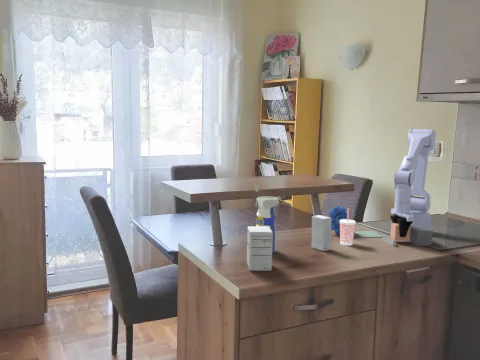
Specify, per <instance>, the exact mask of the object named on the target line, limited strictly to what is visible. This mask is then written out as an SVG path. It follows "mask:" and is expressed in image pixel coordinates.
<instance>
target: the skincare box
mask: <svg viewBox="0 0 480 360" xmlns="http://www.w3.org/2000/svg"><path fill="white" fill-rule="evenodd" d="M331 247H332V230H331V218H330V217H329V216H327V215H320V214H317V215H313V216H311V248H312V249H315V250H319V251H322V252H326V251H327V252H328V251H330V250H331Z"/></svg>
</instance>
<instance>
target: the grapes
mask: <svg viewBox="0 0 480 360" xmlns="http://www.w3.org/2000/svg"><path fill="white" fill-rule="evenodd" d="M328 214H329V216H328V217H330V218H331V231H334V233H335V234H337V235H340V223H339V222H340V221H339V220H342V219H347V209H346V208H345V207H343V206H341V207H340V206H339V205H335V206H334V207H333V209H329V211H328ZM350 217H351V216H350V214H349V217H348V219H349V220H350Z"/></svg>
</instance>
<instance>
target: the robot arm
mask: <svg viewBox="0 0 480 360" xmlns="http://www.w3.org/2000/svg"><path fill="white" fill-rule="evenodd" d="M436 134H437V133H436V130H435V129H433V128H432V129H428V128H427V129H424V128H422V129H421V128H410V129H409V130H408V134H407V141H408V145H409V147H408V152H407V155H405V156H404V157H403V159H402V161H401V164H400V167H399V169H398V170H396V171H395V173H394V175H393V176H394V177H393V183H394V189H395V190H394V191H395V193H394V207H393V208H392V207H391V209H390V213H391V215H390V216H389V218H390V220H391V221H392V222H391V223H398V224H399V233H400V237H406V235H407V232H408V229H409V227H410V225H411V224H420V225H422V226H424V227H426V228H428V229H430V230H432V229H431V228H432V216H431V214H430V213H429V211H430V207H431V195H430V193H429V192H428V191H427V190H426V189H425V186H426V185H425V184H426V176H427V171H428V170H427V168H428V161H429V155H430V152H431V151H432V150H434V148H435V146H436V137H437V135H436Z"/></svg>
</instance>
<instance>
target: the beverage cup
mask: <svg viewBox="0 0 480 360" xmlns="http://www.w3.org/2000/svg"><path fill="white" fill-rule="evenodd" d="M349 212H350V208H349V207H348V208H347V211H346V213H347V219H342V220H339V221H340V222H339V223H340V233H339V238H340V239H339V241H340V242H339V244H340V245H342V246H352V245H353V244H354V243H353V241H354V235H355V232H354V231H355V227H356V224H357V222H356V220H354V219H350V218H349V219H348V217H349V215H350V214H349Z"/></svg>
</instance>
